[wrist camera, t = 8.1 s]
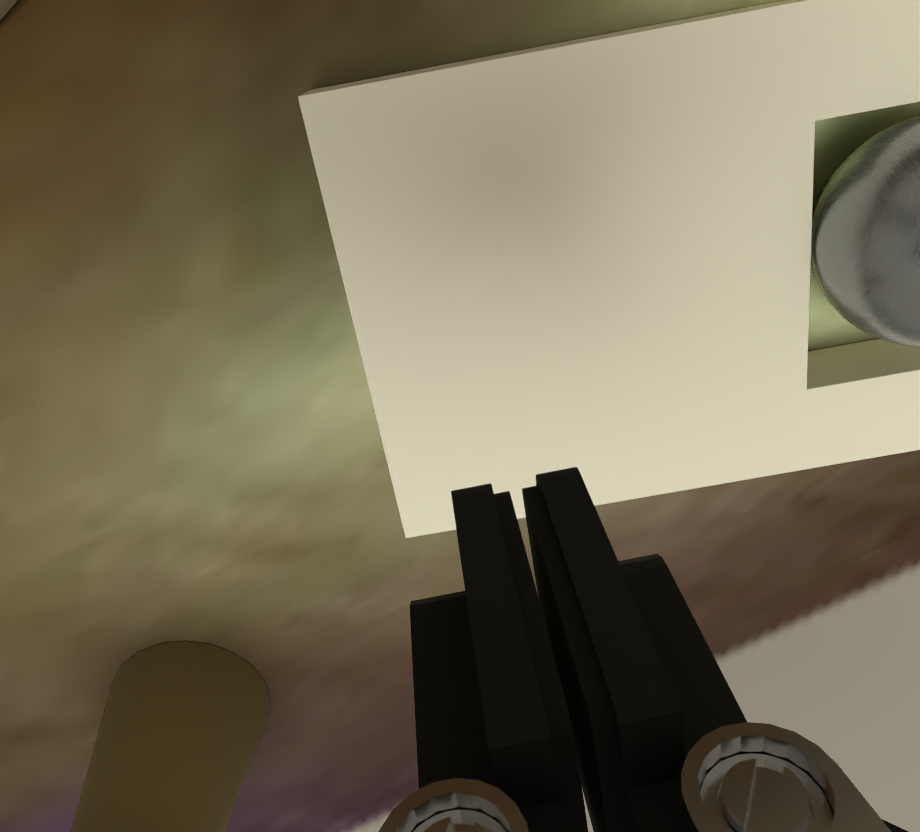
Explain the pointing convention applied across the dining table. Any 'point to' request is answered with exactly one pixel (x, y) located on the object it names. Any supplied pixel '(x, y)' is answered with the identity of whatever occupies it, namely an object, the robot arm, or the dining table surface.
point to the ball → (873, 236)
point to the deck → (611, 256)
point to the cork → (174, 741)
